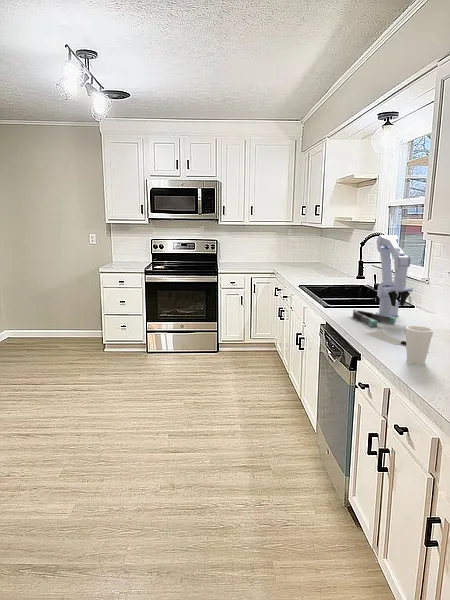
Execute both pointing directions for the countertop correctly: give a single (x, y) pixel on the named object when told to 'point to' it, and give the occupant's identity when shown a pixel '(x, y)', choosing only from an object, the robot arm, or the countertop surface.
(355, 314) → the tongs fixed arm
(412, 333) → the foam cup
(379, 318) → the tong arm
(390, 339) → the kitchen cleaver
